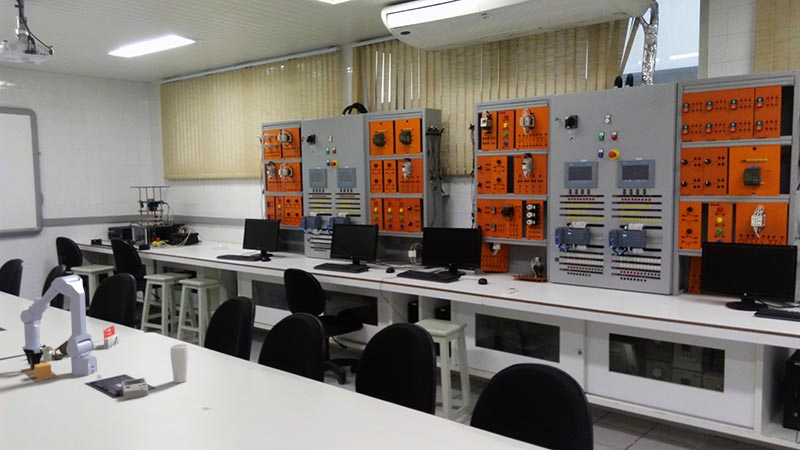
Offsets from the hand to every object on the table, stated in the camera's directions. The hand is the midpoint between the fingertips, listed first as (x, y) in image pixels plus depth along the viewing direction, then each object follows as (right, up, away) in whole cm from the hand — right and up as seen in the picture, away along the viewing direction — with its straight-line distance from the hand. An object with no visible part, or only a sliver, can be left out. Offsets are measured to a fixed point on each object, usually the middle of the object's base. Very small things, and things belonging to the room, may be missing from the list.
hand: (33, 365), depth 260 cm
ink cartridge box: (+14, 0, +42) cm, 44 cm away
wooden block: (+6, -3, -6) cm, 9 cm away
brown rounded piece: (0, -1, +24) cm, 24 cm away
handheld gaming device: (+58, -5, -27) cm, 64 cm away
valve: (-7, -2, +19) cm, 20 cm away
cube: (+10, -2, -10) cm, 15 cm away
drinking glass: (+71, -3, -15) cm, 72 cm away
